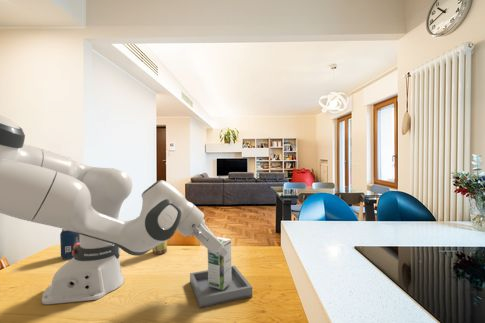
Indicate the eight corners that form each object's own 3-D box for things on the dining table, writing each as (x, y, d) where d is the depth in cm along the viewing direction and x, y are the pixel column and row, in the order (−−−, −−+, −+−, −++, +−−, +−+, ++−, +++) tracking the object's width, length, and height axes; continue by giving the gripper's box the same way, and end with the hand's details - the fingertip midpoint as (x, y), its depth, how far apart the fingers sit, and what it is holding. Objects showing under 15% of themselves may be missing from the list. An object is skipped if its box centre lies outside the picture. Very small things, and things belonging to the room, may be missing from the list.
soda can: (64, 254, 111) (63, 227, 111) (82, 252, 114) (81, 225, 113) (58, 261, 105) (57, 231, 104) (77, 258, 107) (77, 230, 106)
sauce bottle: (169, 249, 116) (168, 206, 116) (163, 255, 110) (162, 209, 109) (155, 249, 117) (154, 205, 116) (148, 254, 111) (148, 208, 110)
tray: (200, 308, 73) (200, 298, 73) (190, 281, 88) (190, 273, 88) (252, 296, 79) (252, 287, 79) (234, 273, 94) (234, 265, 93)
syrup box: (207, 286, 82) (206, 241, 81) (217, 278, 87) (216, 235, 86) (222, 290, 79) (221, 244, 78) (232, 281, 84) (231, 238, 84)
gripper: (205, 221, 70) (239, 252, 74) (191, 206, 89) (218, 231, 93) (188, 240, 69) (224, 270, 72) (178, 221, 88) (206, 245, 91)
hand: (221, 248), depth 83 cm, fingers closed on syrup box, 8 cm apart
